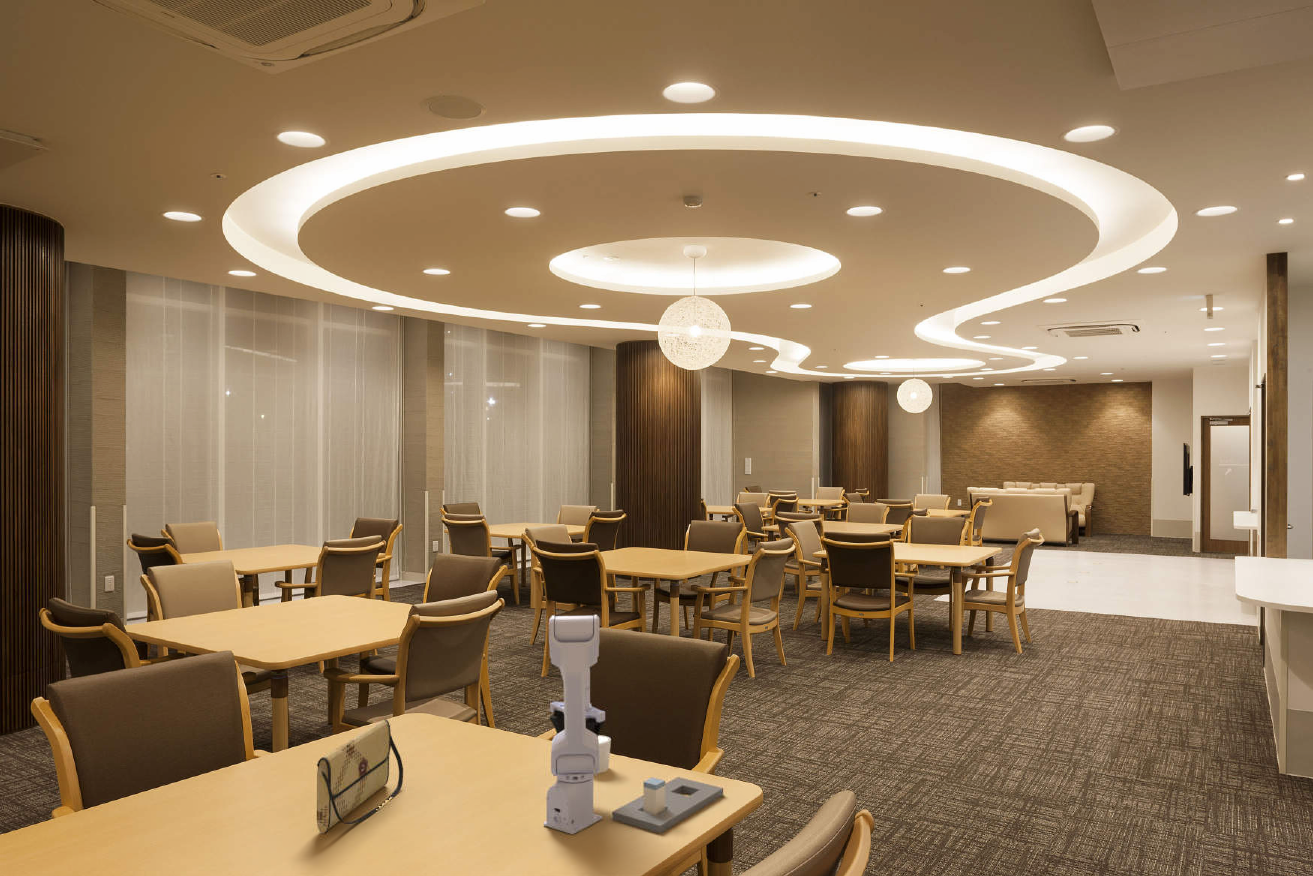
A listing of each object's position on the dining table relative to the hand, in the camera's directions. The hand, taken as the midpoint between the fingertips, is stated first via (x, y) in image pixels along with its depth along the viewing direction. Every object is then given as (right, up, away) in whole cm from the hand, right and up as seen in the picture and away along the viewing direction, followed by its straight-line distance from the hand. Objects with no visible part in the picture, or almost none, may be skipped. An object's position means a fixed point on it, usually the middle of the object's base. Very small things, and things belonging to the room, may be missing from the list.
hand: (577, 749), depth 186 cm
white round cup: (+3, -10, +14) cm, 18 cm away
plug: (+17, -9, -13) cm, 23 cm away
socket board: (+20, -9, -9) cm, 24 cm away
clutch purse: (-44, -10, -8) cm, 46 cm away
